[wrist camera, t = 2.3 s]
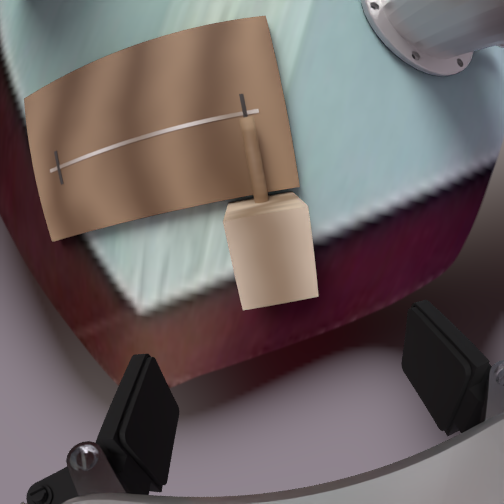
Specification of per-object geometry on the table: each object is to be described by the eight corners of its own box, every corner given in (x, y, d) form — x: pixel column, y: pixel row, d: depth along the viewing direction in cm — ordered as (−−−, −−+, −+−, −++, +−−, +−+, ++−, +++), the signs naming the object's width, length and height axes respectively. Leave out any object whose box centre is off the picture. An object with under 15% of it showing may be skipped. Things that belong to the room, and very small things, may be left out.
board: (264, 21, 18) (265, 15, 17) (296, 184, 23) (299, 186, 22) (31, 99, 19) (23, 98, 18) (59, 237, 24) (52, 242, 22)
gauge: (278, 115, 21) (291, 104, 15) (302, 262, 25) (318, 296, 19) (213, 127, 21) (202, 119, 15) (242, 273, 25) (242, 310, 19)
